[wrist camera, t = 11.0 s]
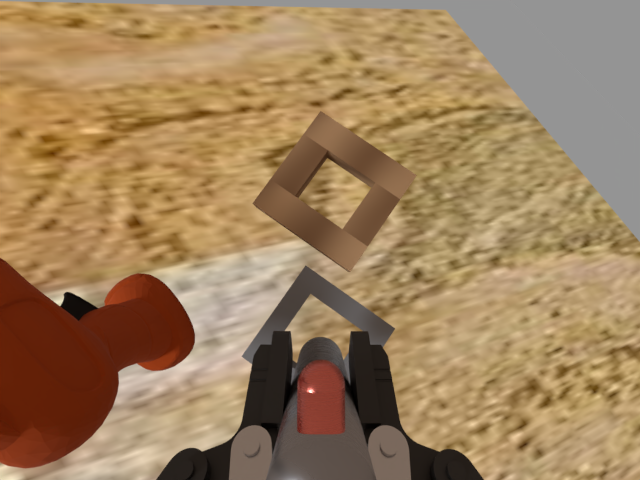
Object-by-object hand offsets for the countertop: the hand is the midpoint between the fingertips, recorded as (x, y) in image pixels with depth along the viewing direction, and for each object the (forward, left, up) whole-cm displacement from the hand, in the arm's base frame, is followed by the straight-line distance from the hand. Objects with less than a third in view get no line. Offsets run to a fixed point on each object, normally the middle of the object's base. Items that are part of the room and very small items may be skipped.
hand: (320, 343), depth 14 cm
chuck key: (+1, -2, -6) cm, 6 cm away
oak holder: (-4, +8, -11) cm, 15 cm away
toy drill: (-14, -7, -12) cm, 20 cm away
